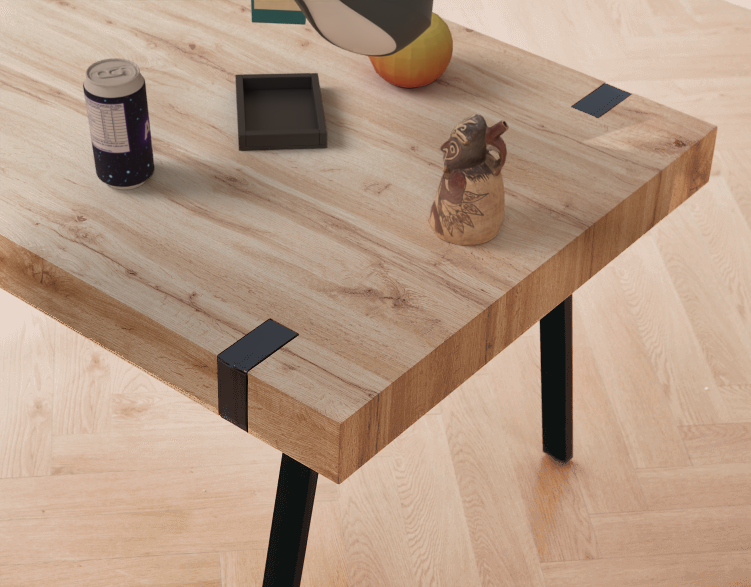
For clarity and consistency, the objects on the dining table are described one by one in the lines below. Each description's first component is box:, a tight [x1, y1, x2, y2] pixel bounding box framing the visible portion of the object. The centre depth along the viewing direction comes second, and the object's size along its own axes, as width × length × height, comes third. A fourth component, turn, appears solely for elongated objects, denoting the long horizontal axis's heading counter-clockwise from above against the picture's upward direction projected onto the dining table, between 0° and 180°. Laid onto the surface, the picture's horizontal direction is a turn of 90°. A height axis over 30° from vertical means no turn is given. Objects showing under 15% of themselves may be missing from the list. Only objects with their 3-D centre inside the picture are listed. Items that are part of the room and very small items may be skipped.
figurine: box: [427, 113, 509, 246], centre depth 100 cm, size 7×7×12 cm
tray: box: [235, 72, 328, 151], centre depth 116 cm, size 9×12×2 cm
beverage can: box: [82, 57, 155, 191], centre depth 103 cm, size 6×6×12 cm
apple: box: [367, 11, 454, 89], centre depth 122 cm, size 10×10×8 cm
